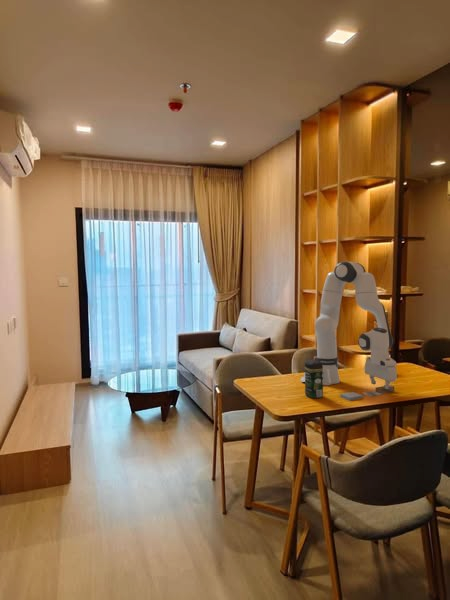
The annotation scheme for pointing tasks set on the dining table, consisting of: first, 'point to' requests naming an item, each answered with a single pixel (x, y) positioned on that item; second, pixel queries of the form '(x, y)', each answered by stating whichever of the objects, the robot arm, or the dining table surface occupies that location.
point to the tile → (351, 396)
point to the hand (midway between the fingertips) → (379, 386)
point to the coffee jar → (313, 379)
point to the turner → (379, 391)
